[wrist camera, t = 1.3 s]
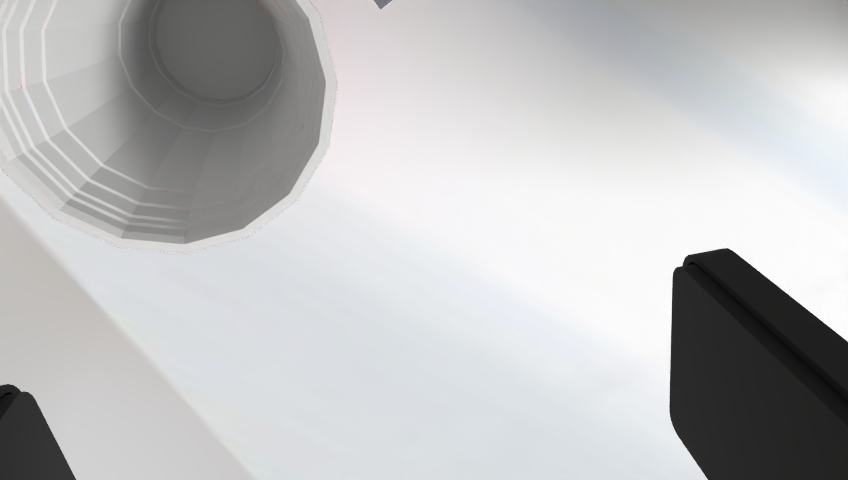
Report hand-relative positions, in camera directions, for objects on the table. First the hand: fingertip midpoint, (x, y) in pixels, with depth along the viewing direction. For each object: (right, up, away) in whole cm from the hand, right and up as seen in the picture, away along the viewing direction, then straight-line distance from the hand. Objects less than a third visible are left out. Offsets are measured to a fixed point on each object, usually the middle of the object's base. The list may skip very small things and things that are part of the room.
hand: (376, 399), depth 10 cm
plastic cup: (-9, +12, +21) cm, 26 cm away
